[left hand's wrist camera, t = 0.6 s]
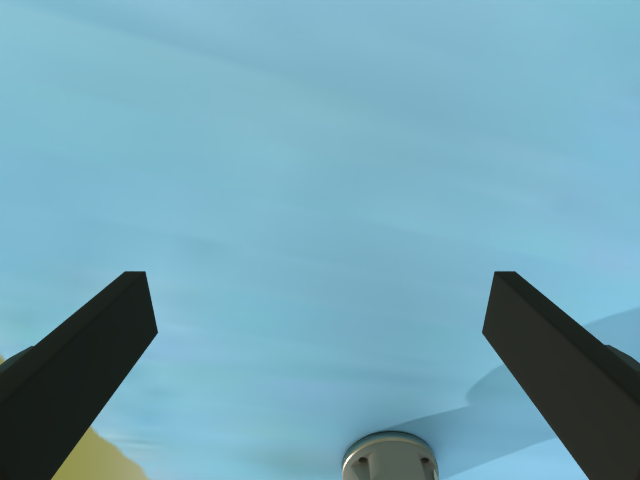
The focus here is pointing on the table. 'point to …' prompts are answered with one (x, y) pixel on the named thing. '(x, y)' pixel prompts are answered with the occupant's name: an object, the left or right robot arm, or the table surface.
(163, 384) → the table surface
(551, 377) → the left robot arm
